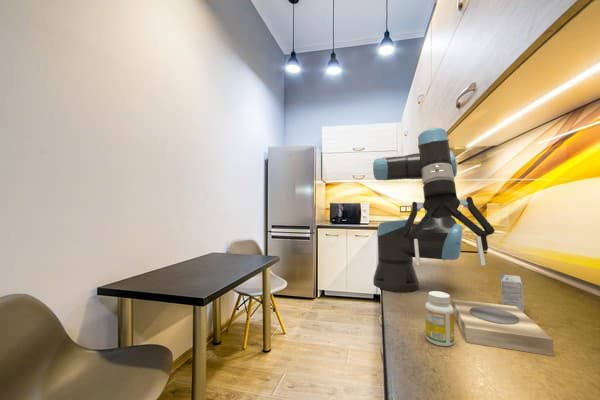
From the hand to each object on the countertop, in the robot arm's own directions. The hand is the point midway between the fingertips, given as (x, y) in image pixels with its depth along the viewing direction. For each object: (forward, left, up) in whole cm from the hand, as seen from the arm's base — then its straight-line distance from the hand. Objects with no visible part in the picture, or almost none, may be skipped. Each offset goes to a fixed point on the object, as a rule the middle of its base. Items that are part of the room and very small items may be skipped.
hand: (449, 265), depth 64 cm
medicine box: (-15, +17, -14) cm, 26 cm away
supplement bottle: (+10, -3, -14) cm, 17 cm away
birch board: (0, +9, -14) cm, 16 cm away
